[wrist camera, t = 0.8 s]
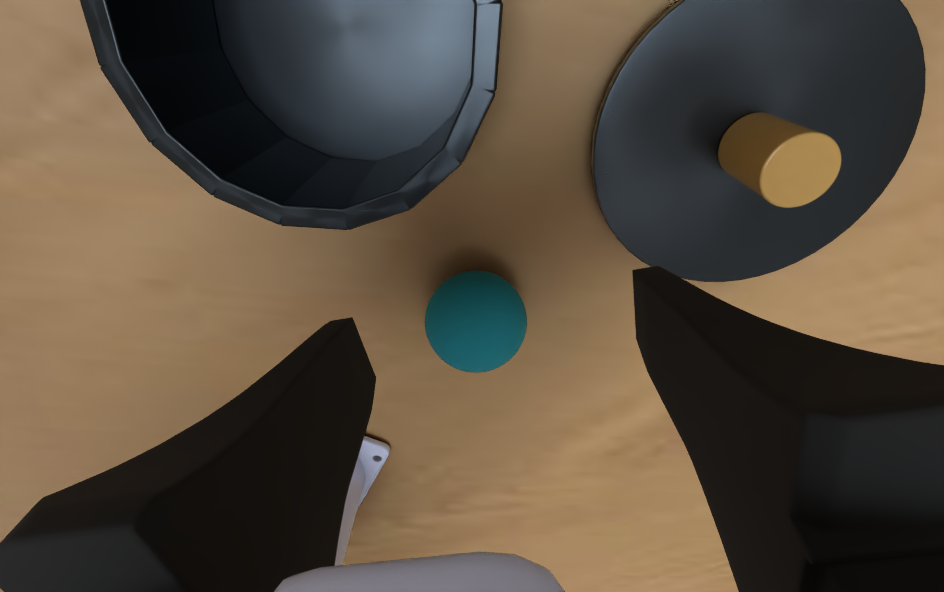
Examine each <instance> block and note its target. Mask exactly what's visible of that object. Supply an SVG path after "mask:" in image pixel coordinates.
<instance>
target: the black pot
mask: <svg viewBox="0 0 944 592" xmlns="http://www.w3.org/2000/svg"><path fill="white" fill-rule="evenodd" d="M80 2H81V6H82V9H83V12H84V16H85V19H86V22H87V26H88V29H89V32H90V36H91V39H92V42H93V46H94V49H95V52H96V56H97V59H98V63H99V65H100V66H101V67H100V68H101V70H102V71H103V73H104V75H105V76H106V78H107V79H108V81H109V82H110V84H111V85H112V87H113V88H114V90H115V91H116V93H117V94H118V96H119V97H120V99H121V100H122V102H123V103H124V105H125V106H126V108H127V109H128V111H129V112H130V114H131V115H132V117H133V119H134V120H135V122H136V123H137V125H138V126H139V128H140V129H141V131H142V132H143V134H144V135H145V137H146V138H147V140H148V141H149V142H152V145H153V146H154V147H155V148H157V149H158V150H159V151H160V152H161V153H163V154H164V155H165V156H166V157H167V158H168V159H170V160H171V161H172V162H173V163H174V164H175V165H177V166H178V167H179V168H180V169H181V170H183V171H184V172H185V173H186V174H187V175H188V176H190V177H191V178H192V179H193V180H194V181H195V182H197V183H198V184H199V185H200V186H201V187H202V188H204V189H205V190H206V191H207V192H208V193H210V194H211V195H214V197H215V198H218V199H220V200H223V201H225V202H227V203H230V204H232V205H234V206H237V207H239V208H241V209H244V210H246V211H248V212H251V213H253V214H255V215H258V216H260V217H262V218H265V219H267V220H269V221H272V222H274V223H276V224H279V225H280V224H281V225H282V226H296V227H311V228H326V229H341V230H348V229H349V230H350V229H353V228H357V227H360V226H363V225H366V224H369V223H372V222H375V221H378V220H381V219H384V218H387V217H390V216H393V215H396V214H399V213H402V212H405V211H408V210H410V209H411V208H413V207H414V206H416V205H417V204H418V203H419V202H420V201H421V200H422V199H423V198H425V197H426V196H427V195H428V194H429V193H430V192H431V191H432V190H434V189H435V188H436V187H437V186H438V185H439V184H440V183H441V182H442V181H444V180H445V179H446V178H447V177H448V176H449V175H450V174H451V173H453V172H454V171H455V170H456V169H457V168H458V167H459V166H460V165H461V164H462V162H463V161H464V160H465V157H466V155H467V153H468V151H469V149H470V147H471V145H472V143H473V141H474V138H475V136H476V134H477V132H478V130H479V128H480V126H481V124H482V122H483V119H484V117H485V115H486V113H487V111H488V109H489V107H490V105H491V103H492V101H493V98H494V96H495V91H496V89H497V76H498V63H499V49H500V36H501V23H502V10H503V3H502V2H501V0H80Z"/></svg>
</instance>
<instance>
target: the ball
mask: <svg viewBox="0 0 944 592" xmlns="http://www.w3.org/2000/svg"><path fill="white" fill-rule="evenodd" d="M526 326H527V317H526V311H525V307H524V304H523V301H522V299H521V297H520V295H519V294H518V292H517V291H516V290H515V288H514V287H513V286H512V285H511V284H510V283H509V282H507V281H506V280H505V279H503V278H502V277H500V276H498V275H495V274H493V273H490V272H486V271H466V272H462V273H459V274H456V275H454V276H452V277H450V278H449V279H447V280H446V281H444V282H443V283H442V284H441V285H440V286H439V287H438V288H437V289H436V290H435V292H434V293H433V295H432V297H431V298H430V301H429V303H428V306H427V309H426V315H425V329H426V334H427V337H428V340H429V342H430V345H431V346H432V348H433V350H434V351H435V352H436V354H437V355H438V356H439V357H440V358H441V359H442V360H443V361H444V362H446V363H447V364H449V365H450V366H452V367H454V368H456V369H459V370H462V371H466V372H486V371H490V370H493V369H495V368H498V367H500V366H501V365H503V364H505V363H506V362H507V361H509V360H510V359H511V358H512V357H513V356H514V355H515V353H516V352H517V351H518V349H519V348H520V346H521V344H522V342H523V339H524V337H525V332H526Z"/></svg>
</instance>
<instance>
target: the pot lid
mask: <svg viewBox="0 0 944 592" xmlns="http://www.w3.org/2000/svg"><path fill="white" fill-rule="evenodd" d="M925 71H926V69H925V61H924V53H923V47H922V44H921V40H920V37H919V34H918V30H917V27H916V25H915V24H914V22H913V20H912V18H911V16H910V14H909V12H908V10H907V8H906V7H905V6H904V5H903V3H902V2H901V1H900V0H680V1H678V2H677V3H676V4H674V5H673V6H672V7H671V8H669V9H668V10H667V11H665V12H664V13H663V14H662V15H661V16H660V17H659V18H658V19H657V20H656V21H655V22H654V23H653V24H652V25H651V26H650V27H649V28H648V29H647V30H646V31H645V32H644V34H643V35H642V36H641V37H640V38H639V40H638V41H637V42H636V43H635V44H634V46H633V47H632V48H631V49H630V51H629V52H628V54H627V55H626V57H625V58H624V60H623V61H622V63H621V64H620V66H619V68H618V69H617V71H616V73H615V75H614V77H613V79H612V81H611V83H610V85H609V87H608V88H607V90H606V93H605V96H604V98H603V101H602V104H601V106H600V109H599V112H598V116H597V120H596V124H595V128H594V132H593V140H592V149H591V173H592V179H593V186H594V191H595V195H596V198H597V201H598V204H599V207H600V209H601V212H602V214H603V216H604V218H605V220H606V222H607V224H608V226H609V227H610V229H611V230H612V232H613V233H614V234H615V236H616V237H617V239H618V240H619V241H620V242H621V243H622V244H623V245H624V246H625V247H626V249H627V250H628V251H629V252H631V253H632V254H633V255H634V256H636V257H637V258H638V259H640V260H641V261H642V262H644V263H646V264H648V265H649V266H651V267H655V266H660V267H662V268H664V269H666V270H667V271H669V272H671V273H673V274H675V275H676V276H678V277H680V278H684V279H688V280H696V281H704V282H725V281H735V280H742V279H747V278H752V277H757V276H761V275H764V274H767V273H770V272H774V271H777V270H779V269H782V268H784V267H786V266H789V265H791V264H794V263H796V262H798V261H800V260H802V259H804V258H805V257H807V256H809V255H811V254H813V253H815V252H816V251H818V250H819V249H821V248H822V247H824V246H825V245H827V244H828V243H830V242H831V241H833V240H834V239H835V238H837V237H838V236H839V235H840V234H842V233H843V232H844V231H846V230H847V229H848V228H849V227H850V226H851V225H853V224H854V223H855V222H856V221H857V220H858V219H859V218H860V217H861V216H862V215H863V214H864V213H865V212H866V211H867V210H868V209H869V208H870V206H871V205H872V204H873V203H874V202H875V201H876V200H877V198H878V197H879V196H880V195H881V194H882V192H883V191H884V189H885V188H886V187H887V185H888V184H889V182H890V181H891V180H892V178H893V177H894V175H895V174H896V172H897V170H898V168H899V166H900V165H901V163H902V161H903V159H904V158H905V156H906V154H907V151H908V149H909V147H910V144H911V142H912V140H913V138H914V135H915V132H916V129H917V125H918V122H919V119H920V116H921V111H922V106H923V100H924V94H925Z"/></svg>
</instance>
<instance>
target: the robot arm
mask: <svg viewBox="0 0 944 592" xmlns="http://www.w3.org/2000/svg"><path fill="white" fill-rule="evenodd" d="M633 288H634V306H635V324H636V339H637V342H638V345H639V348H640V351H641V354H642V357H643V360H644V363H645V366H646V368H647V371H648V373H649V375H650V377H651V379H652V381H653V383H654V385H655V387H656V389H657V391H658V393H659V395H660V397H661V399H662V401H663V403H664V405H665V407H666V409H667V411H668V413H669V415H670V417H671V419H672V421H673V423H674V425H675V427H676V429H677V431H678V433H679V434H680V436H681V438H682V440H683V442H684V444H685V447H686V449H687V451H688V453H689V455H690V458H691V460H692V462H693V465H694V467H695V470H696V473H697V475H698V478H699V481H700V483H701V486H702V489H703V491H704V494H705V496H706V499H707V502H708V505H709V507H710V510H711V513H712V516H713V518H714V521H715V524H716V527H717V530H718V532H719V535H720V538H721V541H722V544H723V546H724V549H725V552H726V555H727V558H728V561H729V564H730V567H731V570H732V573H733V576H734V579H735V582H736V584H737V587H738V590H739V592H944V365H937V364H930V363H923V362H918V361H912V360H907V359H903V358H898V357H893V356H888V355H883V354H878V353H873V352H869V351H865V350H860V349H856V348H852V347H848V346H844V345H841V344H837V343H834V342H830V341H826V340H823V339H819V338H816V337H812V336H809V335H806V334H803V333H800V332H797V331H794V330H791V329H788V328H786V327H783V326H780V325H777V324H775V323H772V322H769V321H767V320H764V319H762V318H759V317H757V316H754V315H752V314H750V313H748V312H746V311H743V310H741V309H739V308H737V307H735V306H732V305H730V304H728V303H726V302H724V301H722V300H720V299H718V298H716V297H714V296H712V295H710V294H709V293H707V292H705V291H703V290H701V289H699V288H698V287H696V286H694V285H692V284H690V283H689V282H687V281H685V280H683V279H682V278H680V277H678V276H676V275H675V274H673V273H671V272H669V271H667V270H666V269H664V268H662V267H660V266H655V267H649V268H643V269H637V270H633ZM375 383H376V376H375V374H374V371H373V368H372V366H371V363H370V361H369V358H368V356H367V353H366V351H365V348H364V346H363V343H362V341H361V338H360V335H359V333H358V330H357V328H356V325H355V323H354V320H353V318H352V317H351V318H345V319H340V320H334V321H330V322H328V323H327V324H325V325H324V326H323V327H321V328H320V329H319V330H318V331H316V332H315V333H314V334H313V335H311V336H310V337H309V338H308V339H307V340H306V341H304V342H303V343H302V344H301V345H300V346H299V347H297V348H296V349H295V350H294V351H293V352H292V353H290V354H289V355H288V356H287V357H286V358H285V359H283V360H282V361H281V362H280V363H279V364H278V365H276V366H275V367H274V368H273V369H271V370H270V371H269V372H268V373H266V374H265V375H264V376H263V377H261V378H260V379H259V380H258V381H256V382H255V383H254V384H253V385H251V386H250V387H249V388H247V389H246V390H245V391H244V392H242V393H241V394H239V395H238V396H237V397H235V398H234V399H233V400H231V401H230V402H228V403H227V404H225V405H224V406H222V407H221V408H219V409H218V410H216V411H215V412H213V413H212V414H210V415H209V416H207V417H206V418H204V419H203V420H201V421H199V422H198V423H196V424H194V425H192V426H191V427H189V428H187V429H186V430H184V431H182V432H180V433H179V434H177V435H175V436H174V437H172V438H170V439H168V440H167V441H165V442H163V443H161V444H160V445H158V446H156V447H154V448H152V449H150V450H148V451H146V452H144V453H142V454H140V455H138V456H136V457H134V458H132V459H130V460H128V461H126V462H124V463H122V464H120V465H118V466H116V467H114V468H111V469H109V470H107V471H105V472H103V473H100V474H98V475H96V476H93V477H91V478H89V479H86V480H84V481H82V482H79V483H77V484H75V485H72V486H70V487H68V488H65V489H63V490H61V491H58V492H56V493H53V494H51V495H48V496H46V497H44V498H42V499H41V500H40V501H39V502H38V503H37V504H36V505H35V506H34V507H33V508H32V509H31V510H30V511H29V512H28V513H27V514H26V516H25V517H24V518H23V519H22V520H21V521H20V522H19V523H18V524H17V525H16V526H15V528H14V529H13V530H12V531H11V532H10V533H9V534H8V535H7V536H6V537H5V538H4V540H3V541H2V542H1V543H0V588H1V589H2V590H3V591H4V592H565V591H564V590H563V588H562V587H561V586H560V584H559V583H558V581H557V580H556V579H555V577H554V576H553V575H552V573H551V572H550V571H549V570H548V569H546V568H545V567H543V566H541V565H539V564H536V563H534V562H532V561H529V560H527V559H525V558H522V557H520V556H518V555H516V554H507V553H490V552H471V553H461V554H451V555H441V556H431V557H420V558H410V559H400V560H390V561H380V562H370V563H360V564H350V565H343V561H344V557H345V553H346V550H347V546H348V542H349V538H350V535H351V531H352V527H353V523H354V520H355V516H356V512H357V509H358V508H359V506H360V504H361V503H362V501H363V499H364V497H365V496H366V494H367V492H368V490H369V489H370V487H371V485H372V483H373V482H374V480H375V478H376V476H377V475H378V473H379V471H380V469H381V468H382V466H383V464H384V462H385V461H386V459H387V457H388V455H389V451H390V447H389V446H388V445H387V444H386V443H383V442H381V441H378V440H375V439H372V438H369V437H366V436H365V432H366V429H367V425H368V422H369V418H370V415H371V411H372V405H373V398H374V391H375ZM376 455H378V456H376Z"/></svg>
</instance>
